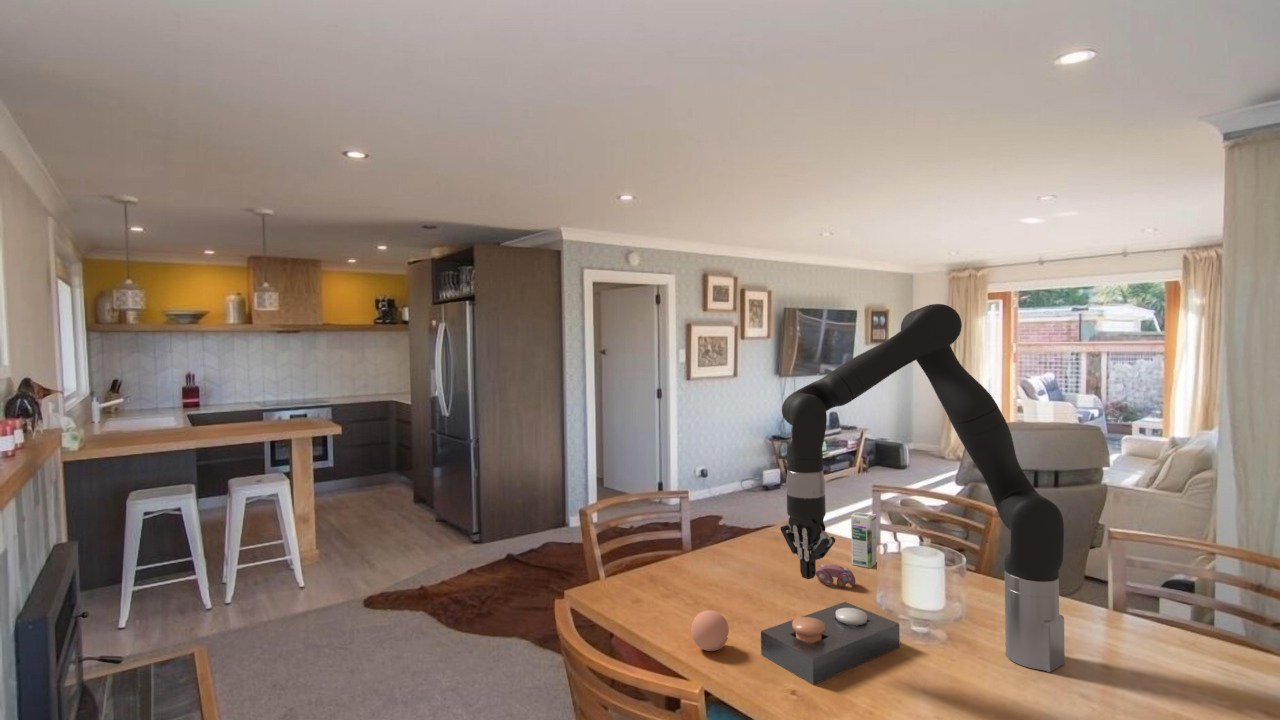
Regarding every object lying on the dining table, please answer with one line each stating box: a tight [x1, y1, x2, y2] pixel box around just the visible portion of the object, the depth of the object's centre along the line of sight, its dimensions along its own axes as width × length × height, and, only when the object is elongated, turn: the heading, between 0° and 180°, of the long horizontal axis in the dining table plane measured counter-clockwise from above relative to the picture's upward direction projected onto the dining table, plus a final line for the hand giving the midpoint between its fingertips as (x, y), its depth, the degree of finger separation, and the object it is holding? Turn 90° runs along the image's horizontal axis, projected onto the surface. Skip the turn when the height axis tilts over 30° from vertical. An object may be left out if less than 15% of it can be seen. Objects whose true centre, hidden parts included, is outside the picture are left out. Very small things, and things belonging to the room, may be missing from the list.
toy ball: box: [690, 609, 730, 652], centre depth 132 cm, size 8×8×8 cm
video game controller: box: [815, 564, 856, 588], centre depth 166 cm, size 10×5×7 cm, turn 62°
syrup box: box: [850, 511, 878, 569], centre depth 182 cm, size 6×6×14 cm
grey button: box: [836, 608, 867, 628], centre depth 134 cm, size 6×6×6 cm
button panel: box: [760, 601, 901, 686], centre depth 130 cm, size 14×26×5 cm, turn 122°
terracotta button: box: [792, 616, 825, 644], centre depth 127 cm, size 6×6×6 cm
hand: (808, 577), depth 127 cm, fingers closed
